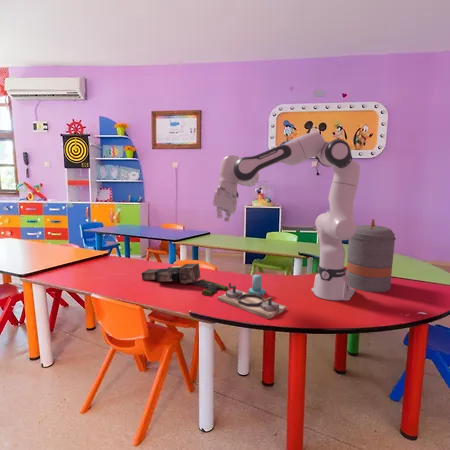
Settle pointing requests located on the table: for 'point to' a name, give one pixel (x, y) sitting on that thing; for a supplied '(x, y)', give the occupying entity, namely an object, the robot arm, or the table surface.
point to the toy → (174, 273)
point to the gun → (209, 287)
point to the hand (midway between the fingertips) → (222, 219)
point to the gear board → (252, 303)
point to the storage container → (370, 258)
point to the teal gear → (257, 286)
